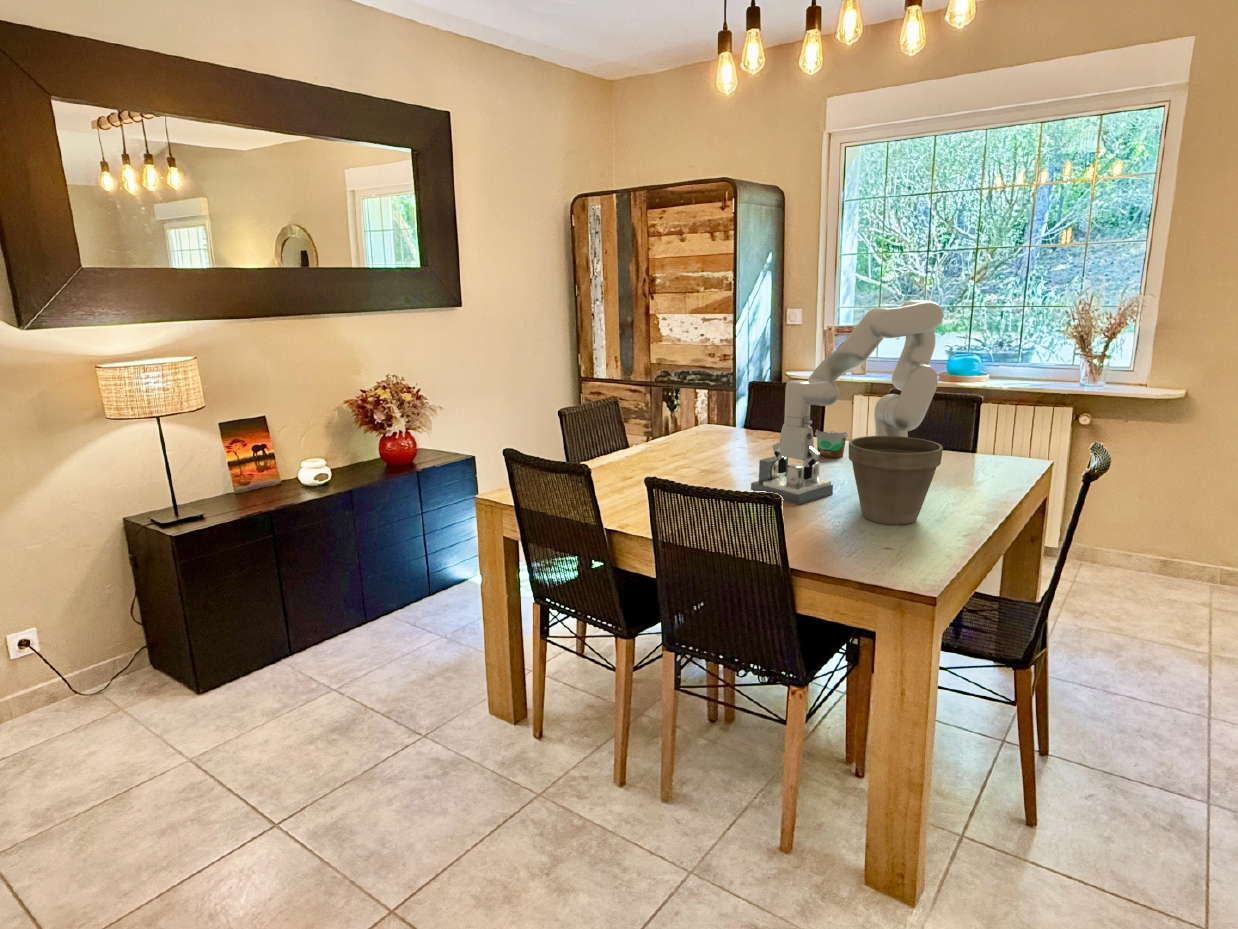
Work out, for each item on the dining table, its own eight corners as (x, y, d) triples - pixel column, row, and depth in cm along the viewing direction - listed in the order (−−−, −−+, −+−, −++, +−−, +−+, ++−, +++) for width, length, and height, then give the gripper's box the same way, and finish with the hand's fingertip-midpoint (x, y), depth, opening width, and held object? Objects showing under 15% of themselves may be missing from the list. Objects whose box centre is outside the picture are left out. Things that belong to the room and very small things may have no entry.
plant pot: (864, 499, 231) (868, 430, 226) (947, 514, 216) (954, 440, 211) (830, 520, 213) (834, 445, 207) (918, 537, 197) (925, 457, 192)
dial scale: (832, 494, 237) (834, 463, 235) (798, 504, 227) (800, 472, 225) (784, 482, 252) (785, 453, 249) (750, 491, 241) (751, 461, 239)
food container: (810, 457, 285) (811, 431, 283) (814, 454, 291) (815, 428, 288) (843, 460, 280) (845, 434, 277) (846, 457, 285) (848, 431, 283)
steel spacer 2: (822, 480, 237) (823, 462, 236) (812, 483, 234) (813, 464, 233) (809, 477, 241) (810, 459, 240) (799, 480, 238) (800, 462, 237)
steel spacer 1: (806, 485, 232) (807, 466, 231) (796, 488, 229) (796, 469, 228) (793, 482, 236) (794, 463, 235) (783, 485, 233) (783, 466, 232)
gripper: (828, 423, 224) (825, 479, 228) (782, 416, 237) (780, 468, 241) (812, 427, 219) (810, 483, 223) (766, 419, 232) (764, 472, 236)
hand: (794, 475), depth 232 cm, fingers open, 9 cm apart
